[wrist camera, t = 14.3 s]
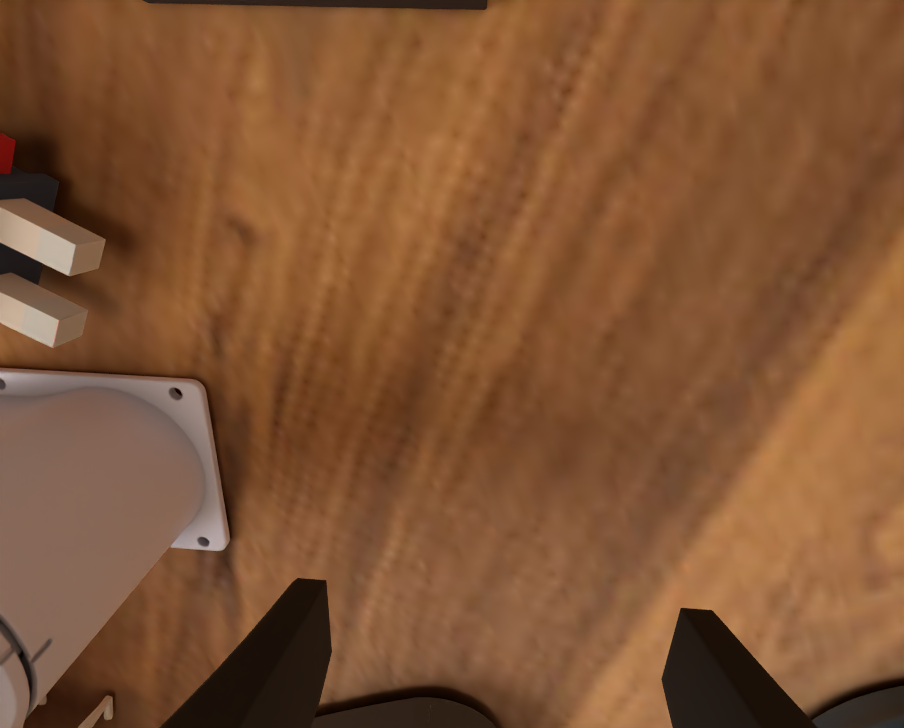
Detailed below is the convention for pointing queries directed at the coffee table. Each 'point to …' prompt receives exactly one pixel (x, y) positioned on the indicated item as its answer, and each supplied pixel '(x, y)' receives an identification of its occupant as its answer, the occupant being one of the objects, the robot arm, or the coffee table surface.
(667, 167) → the coffee table surface
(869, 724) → the canister
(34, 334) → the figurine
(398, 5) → the stand
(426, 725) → the media streaming box
